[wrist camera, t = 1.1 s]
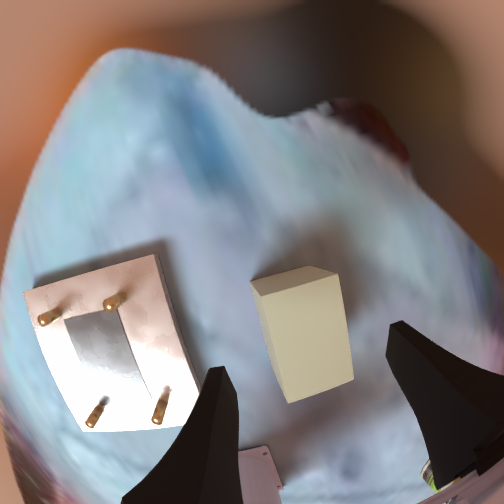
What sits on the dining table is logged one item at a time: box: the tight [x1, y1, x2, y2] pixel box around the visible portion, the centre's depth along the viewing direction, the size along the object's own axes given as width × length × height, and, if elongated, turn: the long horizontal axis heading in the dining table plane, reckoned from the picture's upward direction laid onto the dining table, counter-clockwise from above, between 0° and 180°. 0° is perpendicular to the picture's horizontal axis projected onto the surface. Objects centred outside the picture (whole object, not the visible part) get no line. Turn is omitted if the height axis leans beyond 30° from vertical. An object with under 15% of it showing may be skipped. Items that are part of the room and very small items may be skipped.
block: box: [250, 265, 354, 403], centre depth 19 cm, size 8×5×6 cm, turn 14°
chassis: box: [23, 253, 201, 431], centre depth 19 cm, size 15×14×4 cm
